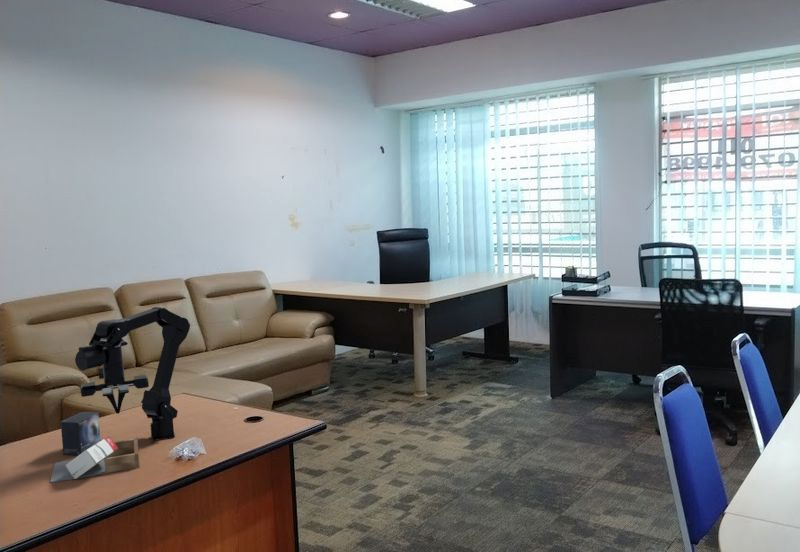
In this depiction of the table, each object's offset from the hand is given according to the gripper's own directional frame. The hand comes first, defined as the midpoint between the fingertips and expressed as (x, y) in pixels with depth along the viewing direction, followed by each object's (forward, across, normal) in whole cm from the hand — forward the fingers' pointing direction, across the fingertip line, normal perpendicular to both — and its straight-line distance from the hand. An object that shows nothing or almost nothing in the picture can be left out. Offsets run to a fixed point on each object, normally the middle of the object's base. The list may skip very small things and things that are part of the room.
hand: (117, 413), depth 215 cm
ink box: (+8, +5, +8) cm, 12 cm away
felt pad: (+12, +12, +8) cm, 19 cm away
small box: (+13, +11, -10) cm, 19 cm away
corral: (+12, +1, +8) cm, 15 cm away
